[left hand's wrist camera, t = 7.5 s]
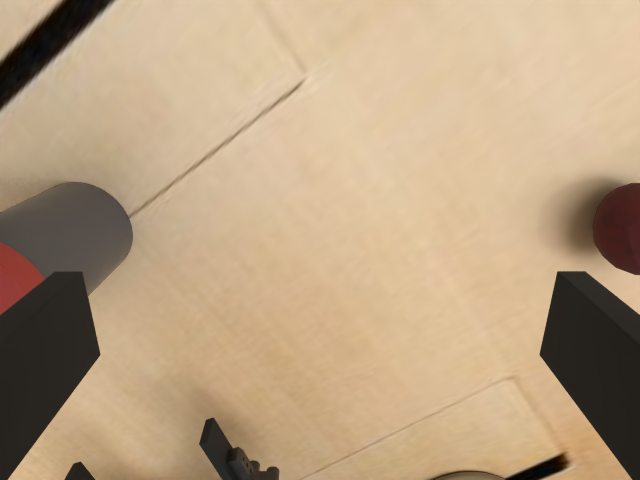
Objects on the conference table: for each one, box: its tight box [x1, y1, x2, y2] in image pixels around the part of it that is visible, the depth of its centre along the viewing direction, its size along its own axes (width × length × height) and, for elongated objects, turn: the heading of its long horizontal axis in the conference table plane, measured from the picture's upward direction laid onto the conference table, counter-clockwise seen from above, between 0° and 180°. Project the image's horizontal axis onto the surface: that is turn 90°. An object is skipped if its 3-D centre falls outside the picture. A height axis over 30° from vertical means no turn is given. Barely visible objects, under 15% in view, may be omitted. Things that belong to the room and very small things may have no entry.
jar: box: [0, 182, 133, 296], centre depth 34 cm, size 9×9×16 cm
